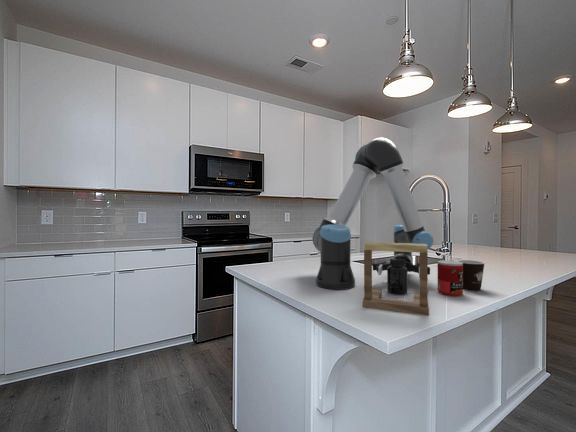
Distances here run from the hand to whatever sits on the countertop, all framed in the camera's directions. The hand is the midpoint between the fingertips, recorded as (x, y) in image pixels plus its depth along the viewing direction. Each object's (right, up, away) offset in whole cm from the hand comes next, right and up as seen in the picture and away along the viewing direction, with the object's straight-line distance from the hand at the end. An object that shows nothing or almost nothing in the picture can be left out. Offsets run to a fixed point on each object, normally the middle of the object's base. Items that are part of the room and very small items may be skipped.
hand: (399, 272), depth 103 cm
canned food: (+17, -7, -1) cm, 19 cm away
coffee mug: (+27, -7, +5) cm, 28 cm away
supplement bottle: (-1, -7, +1) cm, 7 cm away
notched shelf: (-5, -7, -12) cm, 15 cm away
